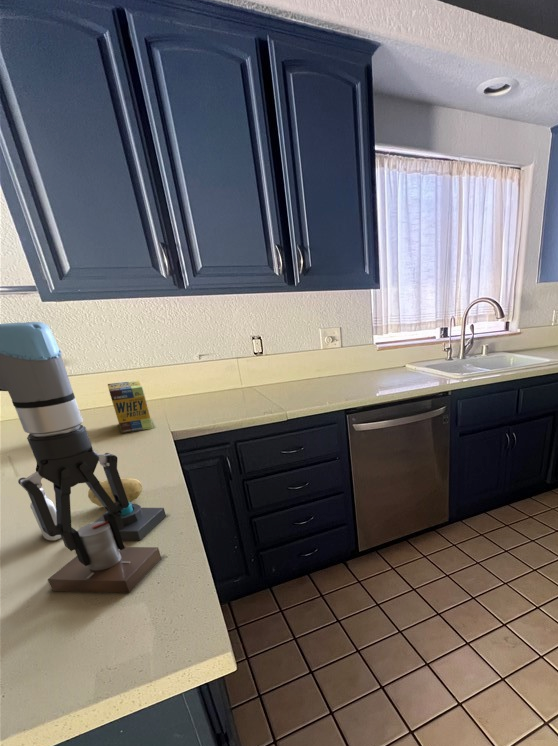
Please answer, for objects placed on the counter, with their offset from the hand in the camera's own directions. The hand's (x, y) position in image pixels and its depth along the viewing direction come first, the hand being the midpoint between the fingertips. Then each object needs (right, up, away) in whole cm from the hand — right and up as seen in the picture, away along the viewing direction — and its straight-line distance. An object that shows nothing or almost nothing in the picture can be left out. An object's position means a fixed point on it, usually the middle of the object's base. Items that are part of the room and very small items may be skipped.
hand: (102, 554), depth 76 cm
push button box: (-6, +3, +17) cm, 18 cm away
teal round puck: (-6, +6, +15) cm, 17 cm away
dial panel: (0, -4, +2) cm, 4 cm away
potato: (-14, +7, +28) cm, 32 cm away
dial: (0, -2, +1) cm, 2 cm away
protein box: (-44, +34, +86) cm, 103 cm away
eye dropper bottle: (-20, +1, +15) cm, 25 cm away
